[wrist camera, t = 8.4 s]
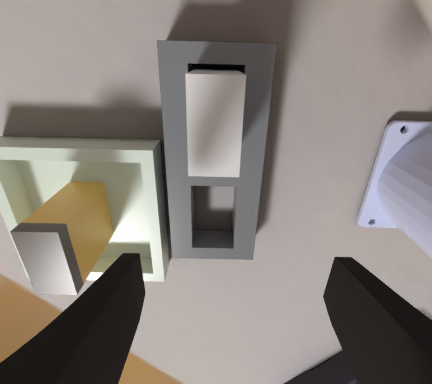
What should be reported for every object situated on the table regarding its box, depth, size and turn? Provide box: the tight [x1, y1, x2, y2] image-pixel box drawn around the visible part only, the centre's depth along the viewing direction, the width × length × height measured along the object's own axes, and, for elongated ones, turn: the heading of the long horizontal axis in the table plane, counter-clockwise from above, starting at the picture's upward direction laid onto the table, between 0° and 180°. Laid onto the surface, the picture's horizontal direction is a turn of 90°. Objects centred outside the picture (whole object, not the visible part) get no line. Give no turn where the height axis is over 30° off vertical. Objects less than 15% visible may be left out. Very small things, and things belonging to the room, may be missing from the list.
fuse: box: [185, 68, 246, 177], centre depth 14 cm, size 2×4×6 cm, turn 179°
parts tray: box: [0, 136, 169, 282], centre depth 19 cm, size 11×11×2 cm
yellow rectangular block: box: [10, 182, 114, 295], centre depth 17 cm, size 2×4×6 cm, turn 179°
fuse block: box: [157, 40, 277, 260], centre depth 17 cm, size 6×14×2 cm, turn 179°
